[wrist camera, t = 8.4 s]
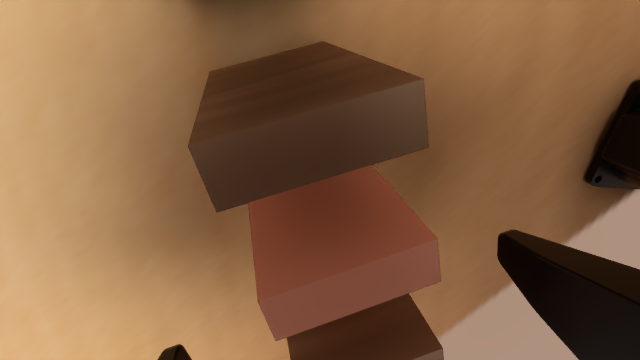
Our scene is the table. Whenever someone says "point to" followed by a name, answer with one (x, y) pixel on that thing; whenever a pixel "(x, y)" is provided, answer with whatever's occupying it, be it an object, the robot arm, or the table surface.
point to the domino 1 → (302, 121)
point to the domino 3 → (371, 336)
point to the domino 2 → (337, 250)
